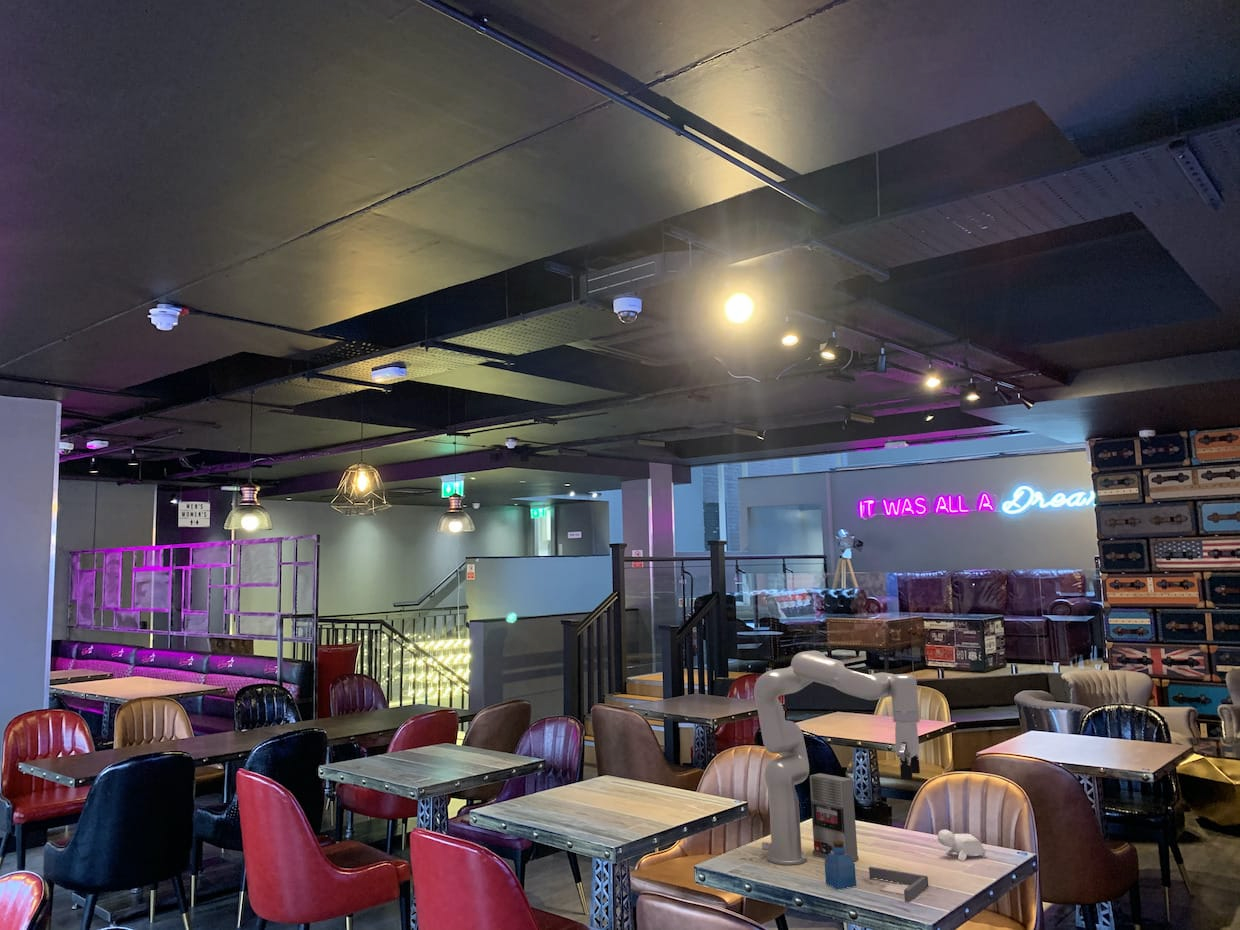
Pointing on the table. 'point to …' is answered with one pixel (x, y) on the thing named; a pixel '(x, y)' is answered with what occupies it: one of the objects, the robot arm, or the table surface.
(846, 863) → the perfume bottle
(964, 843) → the white turtle figurine
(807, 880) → the table surface
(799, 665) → the robot arm
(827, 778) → the cassette tape recorder
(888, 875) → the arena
